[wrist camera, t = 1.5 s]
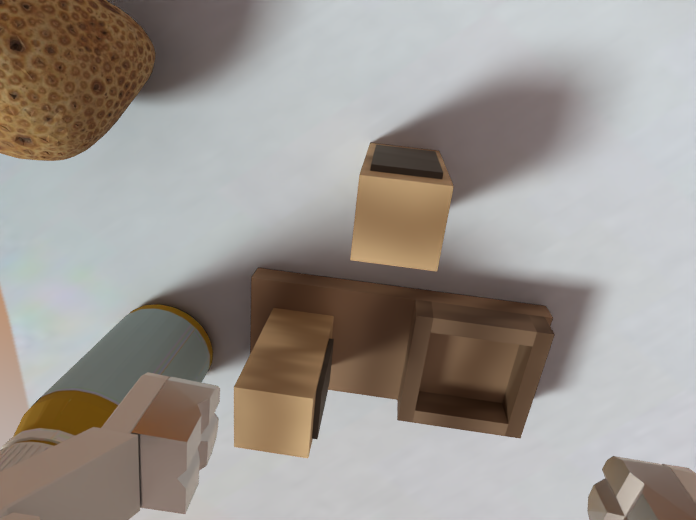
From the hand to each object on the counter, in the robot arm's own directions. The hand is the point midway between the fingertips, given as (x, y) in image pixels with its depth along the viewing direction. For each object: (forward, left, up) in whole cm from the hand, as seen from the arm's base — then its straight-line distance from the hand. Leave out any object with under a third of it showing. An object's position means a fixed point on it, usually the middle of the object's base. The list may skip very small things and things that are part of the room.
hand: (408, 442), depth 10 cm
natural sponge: (+18, -6, -20) cm, 28 cm away
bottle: (+15, +13, -20) cm, 29 cm away
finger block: (0, -1, -20) cm, 20 cm away
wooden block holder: (-1, +10, -20) cm, 23 cm away
